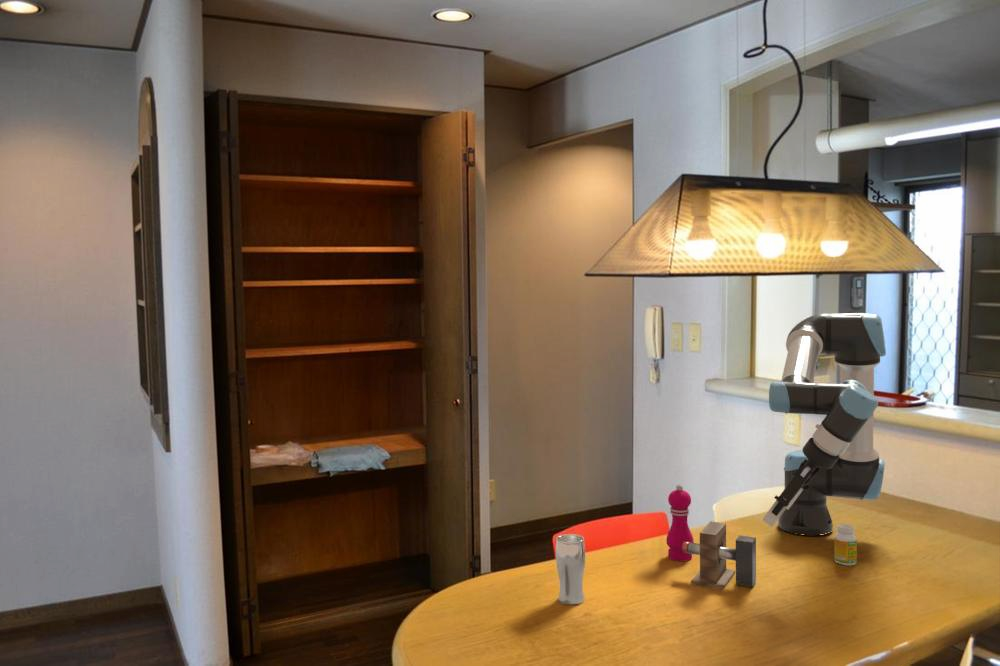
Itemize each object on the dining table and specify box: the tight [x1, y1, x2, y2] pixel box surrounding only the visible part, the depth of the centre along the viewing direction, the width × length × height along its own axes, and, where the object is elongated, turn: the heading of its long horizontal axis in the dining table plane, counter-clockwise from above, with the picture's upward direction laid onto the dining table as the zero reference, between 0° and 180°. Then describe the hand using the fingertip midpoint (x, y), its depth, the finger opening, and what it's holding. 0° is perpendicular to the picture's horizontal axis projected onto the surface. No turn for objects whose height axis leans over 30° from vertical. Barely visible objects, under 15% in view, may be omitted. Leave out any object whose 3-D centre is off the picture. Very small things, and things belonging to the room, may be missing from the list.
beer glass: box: [555, 533, 586, 606], centre depth 186 cm, size 7×7×15 cm
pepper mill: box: [665, 484, 695, 562], centre depth 212 cm, size 7×7×20 cm
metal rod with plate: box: [682, 535, 757, 588], centre depth 196 cm, size 18×4×11 cm, turn 60°
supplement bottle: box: [833, 523, 858, 567], centre depth 205 cm, size 5×5×10 cm
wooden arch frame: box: [690, 520, 736, 591], centre depth 196 cm, size 8×12×13 cm, turn 150°
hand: (775, 514), depth 188 cm, fingers open, 13 cm apart
